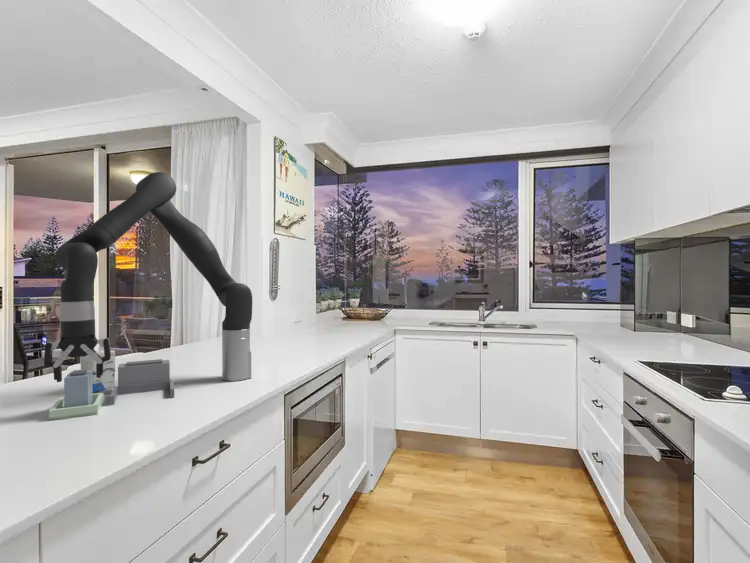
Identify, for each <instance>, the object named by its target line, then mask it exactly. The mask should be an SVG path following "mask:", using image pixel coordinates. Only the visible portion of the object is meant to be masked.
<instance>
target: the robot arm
mask: <svg viewBox="0 0 750 563" xmlns="http://www.w3.org/2000/svg"><path fill="white" fill-rule="evenodd" d="M176 193H177V185H176V181H175V180H174V179H173V177H172V176H171V175H169V174H168V173H166V172H160V171H155V172H152V173H149V174H148V175H146V176H145V177H144V178H141V179H140V181H138V182H137V184H136V185H135V192H134V193H133V194H131V196H129V197H127V199H126V200H124V201H122V202H121V203H120V204H118V205H117V206H116V207H114V208H112V209H111V210H110V211H108V212H106V213H105V214H103V215H102V216H101V217H99V219H97V220H96V221H94V223H93V224H90V226H88V228H86V229H85V230H83V231H82V232H80V233H78V234H77V235H75V236H73V237H71V238H70V239H68V240H67V241H65V242H64V243H63V244H61V245H60V246H59V247H58V249H57V250H56V252H55V254H54V259H55V262H56V263H57V265H58V266H59V267H61V268H62V269H64V270H67V272H66V273H67V274H66V278H65V279H64V280H63V281H62V282H61V283H60V308H59V326H60V329H59V330H60V339H59V341H58V342H52V341H48V342H46V343H45V344H44V354H43V355H44V357H43V358H44V359H43V360H44V362H43V365H44V366H45V367H50V368H53V379H54V381H56V383H61V382H62V380H63V372H62V371H63V369H62V368H63V366H61V365H62V364H63V362H64V361H65V360H66V359H67V358H68V357H69V358H71V359H72V358H77V357H79V358H81V357H85V356H87V355H89V356H90V357H91V358H93V359H94V360H95V361H96V362H97V364H96V376H97V378H100V376H101V375H102V374H103V363H104V362H105V361H108V360H110V358H111V352H110V350H111V343H110V338H109V337H105V338H101V339H100V338H99V339H97V336H96V314H95V313H96V309H95V303H94V281H95V278H96V274H97V269H98V262H99V261H98V260H99V259H98V258H99V257H98V254H97V253H98V252H100V251H103V250H105V249H108V248H110V247H111V246H112V245H113V244H115V243H116V242H118V240H119V239H121V238H122V237H123V236H124V235H125V234H126V233H128V231H129V230H130V229H132V227H133V226H134V225H136V224H137V222H139V221H140V220H141V219H143V217H145V216H146V215H147V214H148V213H150V214H152V215H153V216H154V217H155V218H156V219H157V221H158V222H159V223H160V224H161V225H162V226H163V228H164V229H165V231H167V233H168V234H169V235H170V237H171V238H172V239H173V240H174V242H175V243H176V244H177V246H178V247H179V249H180V250H181V251H182V252H183V253H184V255H185V256H186V258H187V259H188V261H190V262H191V263H192V265H193V266H194V267H195V269H196V270H197V271H198V272H199V274H201V275H202V277H203V278H204V279H205V280H206V281H207V282H208V284H209V286H210V287H211V289H212V290H213V292H214V294H215V295H216V297H217V298H218V300H219V301H220V304H222V306H224V307H225V312H224V313H225V315H224V316H225V317H224V319H223V320H222V322H221V337H222V338H221V341H222V342H221V349H222V350H221V358H222V359H221V363H222V364H221V366H222V367H221V368H222V371H221V373H222V374H221V375H222V376H221V378H222V380H223V381H226V382H227V381H229V382H233V381H234V382H236V381H243V380H247V379H252V350H251V323H252V318H253V293H252V290H251V289H250V287H249V286H248V285H246V284H244V283H242V282H241V283H240V282H236V281H235V279H234V278H233V277H232V276H231V275H230V274H229V273H228V271H227V270H226V268H225V267H224V265H223V263H222V260H221V258H220V253H218V250H217V248H216V247H215V244H214V243H213V242H212V240H211V239H210V237H208V236H209V235H207V234H206V232H205V231H204V230H203V229H202V228H201V227H199V226H198V225H197V224H195V223H194V222H192V221H191V220H189V219H188V218H186V217H185V216H184V215H183V214H182V213H180V211H178V208H176V207H175V205H174V204H173V203H172V199H173V198H174V197H175V194H176ZM98 344H99V345H100V347H101V348H103V350H104V355H105V356H104V357H101V356H100V355H99V354H98V353H97V352H96V351H97V350H95V347H96V346H97V345H98ZM57 347H58V348H59V349H60V350H61V351H62V353H61V355H60V356H59V357H58V359H56V361H54V360H53V353H54V352H53V351H55V350H56V349H57Z"/></svg>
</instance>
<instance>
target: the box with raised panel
mask: <svg viewBox="0 0 750 563" xmlns="http://www.w3.org/2000/svg"><path fill="white" fill-rule="evenodd" d="M63 379H64V380H63V385H64V386H63V387H64V388H63V389H64V392H63V394H64V395H63V397H64V408H68V407H77V406H85V405H91V404H92V403H93V396H92V394H93V392H92V370H87V369H85V370H81V369H76V370H75V369H74V370H73V371H70V372H68V373H67V375H66V376H65V377H63Z"/></svg>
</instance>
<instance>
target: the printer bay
mask: <svg viewBox="0 0 750 563" xmlns="http://www.w3.org/2000/svg"><path fill="white" fill-rule="evenodd" d="M170 365H171V364H170V359H164V360H163V359H162V358H160V359H148V360H135V361H126V363H119V365H118V366H117V386H113V387H112V390H111V393H110V396H109V405H110V406H114V405H115V403H116V400H117V398H118V397H119V395H128V394H135V393H145V392H146V393H147V392H154V391H155V392H156V391H164V390H169V395H170V399H173V398H175V385H174V383H175V382H174V380H170V379H171V378H170V377H171V375H170V374H171V373H170V372H171V371H170V369H171V368H170Z"/></svg>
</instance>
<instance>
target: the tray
mask: <svg viewBox="0 0 750 563" xmlns="http://www.w3.org/2000/svg"><path fill="white" fill-rule="evenodd" d="M92 396H93V403H92V404H91V405H85V406H77V407H68V408H64V396H61V397H59V398H58V400H56V401H55V403H54V404H53V406H52V407H50V409H49V410H48V420H49V421H55V420H62V419H63V420H64V419H72V418H79V417H87V416H95V415H98V414H99V412H100V410H101V409H102V408H101V407H102V406H103V403H104V401H105V400H104V399H105V398H104V396H105V395H104V392H98V393H97V392H95V393H92Z"/></svg>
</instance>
